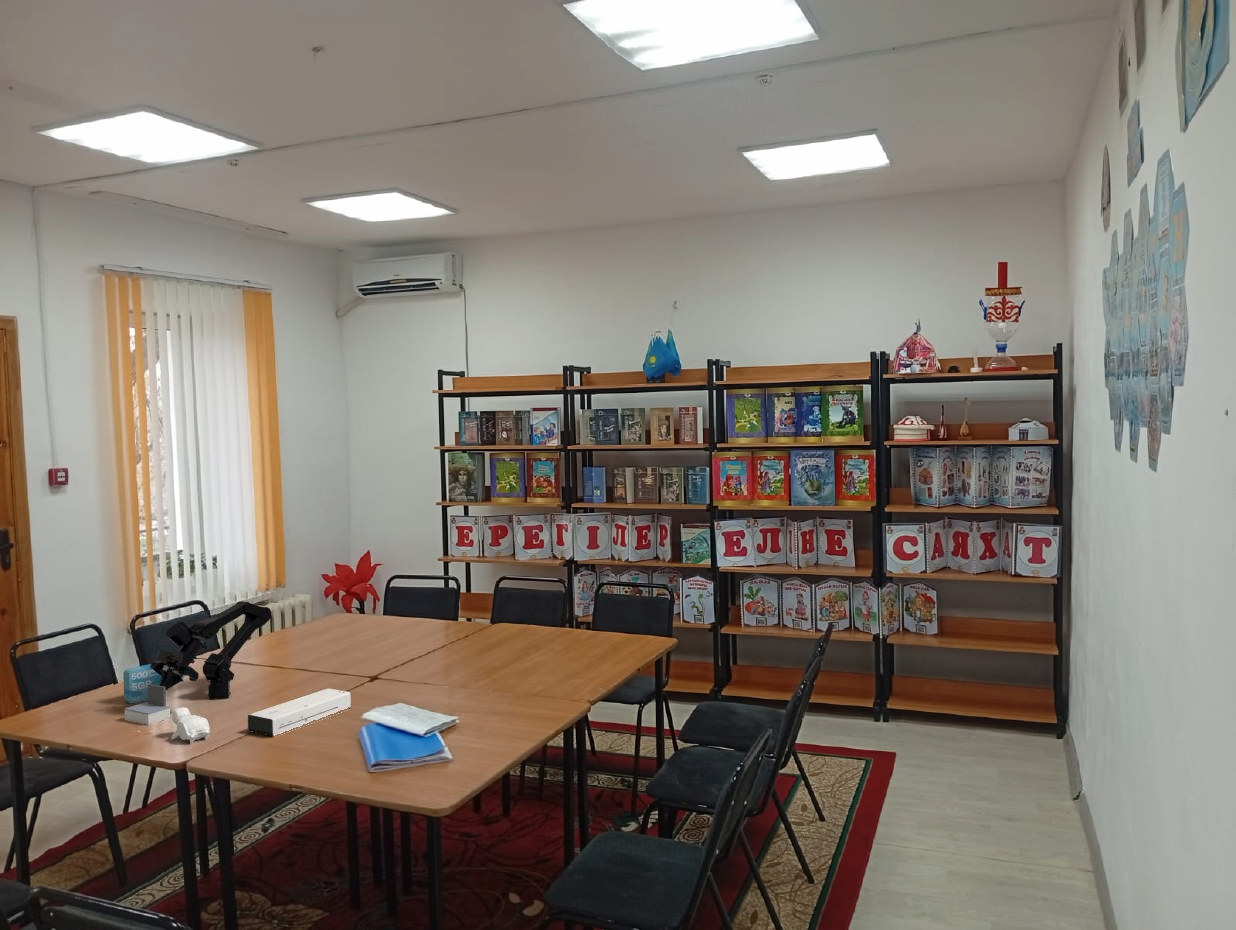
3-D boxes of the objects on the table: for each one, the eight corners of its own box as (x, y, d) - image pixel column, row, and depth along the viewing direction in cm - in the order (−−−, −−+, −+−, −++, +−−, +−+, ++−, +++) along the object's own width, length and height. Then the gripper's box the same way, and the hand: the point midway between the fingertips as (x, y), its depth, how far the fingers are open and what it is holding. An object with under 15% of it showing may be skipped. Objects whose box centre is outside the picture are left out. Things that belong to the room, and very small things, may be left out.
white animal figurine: (210, 746, 287) (187, 721, 295) (215, 723, 285) (192, 698, 293) (184, 754, 280) (161, 728, 288) (189, 731, 278) (165, 705, 286)
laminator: (272, 739, 286) (272, 719, 286) (245, 733, 292) (245, 714, 292) (351, 709, 316) (351, 692, 316) (325, 704, 322) (325, 687, 322)
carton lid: (146, 703, 311) (145, 683, 311) (169, 708, 306) (169, 687, 306) (124, 710, 304) (124, 689, 304) (148, 714, 299) (147, 693, 299)
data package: (129, 704, 322) (128, 671, 322) (123, 702, 325) (123, 669, 324) (163, 697, 331) (163, 664, 331) (158, 694, 334) (157, 662, 334)
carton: (146, 713, 311) (146, 703, 311) (170, 718, 306) (169, 708, 306) (124, 720, 304) (124, 710, 304) (148, 725, 299) (148, 714, 299)
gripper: (154, 637, 317) (125, 676, 308) (190, 643, 309) (162, 683, 299) (174, 655, 325) (147, 694, 315) (210, 661, 316) (183, 700, 307)
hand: (159, 692), depth 309 cm, fingers closed
